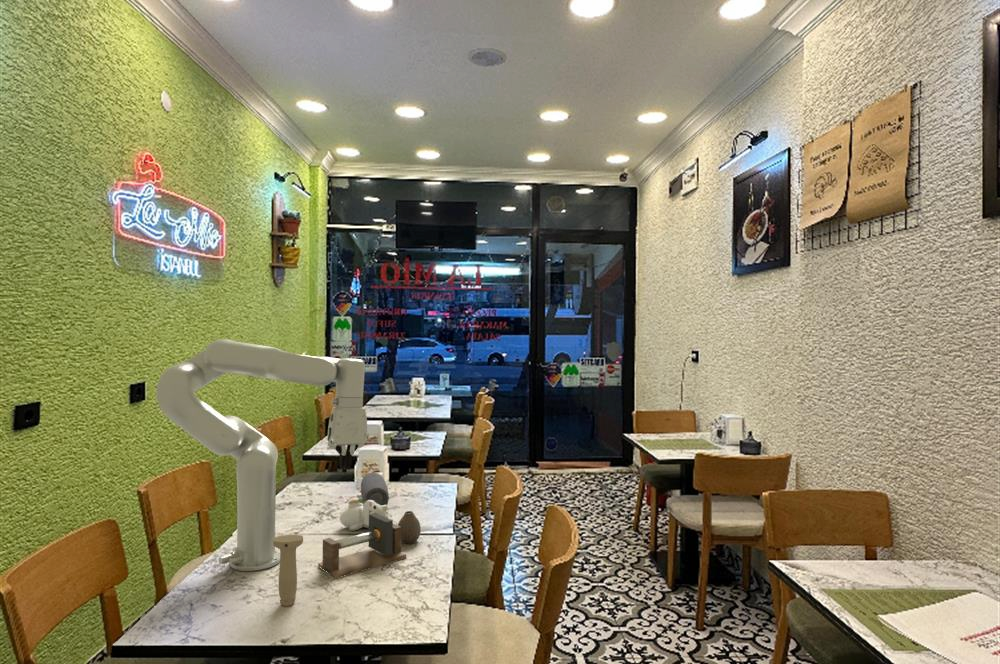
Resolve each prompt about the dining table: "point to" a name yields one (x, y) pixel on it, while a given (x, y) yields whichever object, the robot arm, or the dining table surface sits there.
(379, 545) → the collar
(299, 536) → the handle
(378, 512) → the cat figurine
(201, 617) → the dining table surface
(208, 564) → the dining table surface
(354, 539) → the pipe
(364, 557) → the stand
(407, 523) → the vase
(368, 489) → the bluetooth speaker
